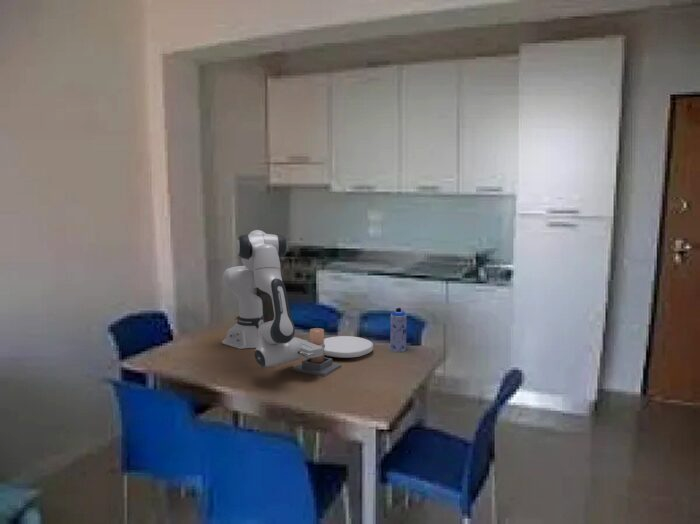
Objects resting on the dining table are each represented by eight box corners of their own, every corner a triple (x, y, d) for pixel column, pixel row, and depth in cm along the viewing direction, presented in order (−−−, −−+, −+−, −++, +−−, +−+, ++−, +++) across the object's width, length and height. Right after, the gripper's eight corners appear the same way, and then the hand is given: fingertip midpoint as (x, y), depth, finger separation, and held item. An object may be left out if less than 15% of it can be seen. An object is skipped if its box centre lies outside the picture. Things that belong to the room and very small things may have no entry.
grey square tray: (293, 369, 254) (293, 361, 253) (310, 361, 265) (310, 353, 264) (325, 376, 246) (324, 367, 245) (341, 367, 257) (340, 358, 256)
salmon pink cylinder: (307, 362, 253) (306, 330, 251) (315, 358, 259) (314, 327, 256) (319, 364, 251) (318, 332, 248) (326, 360, 256) (326, 329, 253)
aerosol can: (403, 352, 276) (403, 310, 273) (387, 350, 279) (387, 309, 276) (408, 347, 283) (409, 307, 280) (393, 346, 286) (393, 305, 283)
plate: (324, 332, 293) (377, 336, 288) (324, 345, 293) (377, 349, 288) (309, 343, 265) (367, 347, 260) (308, 358, 266) (367, 362, 261)
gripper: (306, 348, 237) (333, 342, 246) (278, 337, 252) (304, 331, 261) (306, 363, 238) (333, 356, 247) (278, 351, 253) (304, 345, 262)
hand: (318, 343), depth 254 cm, fingers closed on salmon pink cylinder, 6 cm apart
